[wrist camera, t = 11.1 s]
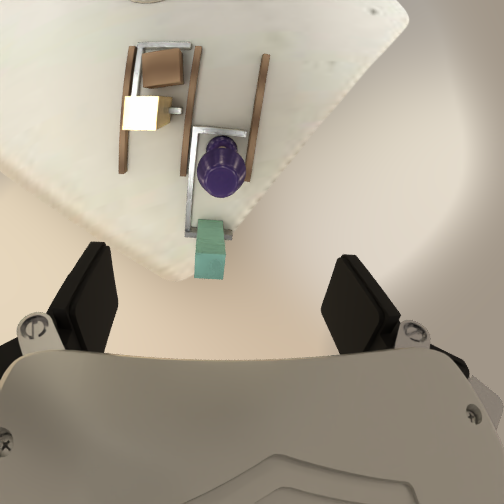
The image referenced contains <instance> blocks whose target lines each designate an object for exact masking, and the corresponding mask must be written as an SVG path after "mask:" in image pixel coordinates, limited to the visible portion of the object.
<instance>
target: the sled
mask: <svg viewBox="0 0 504 504" xmlns="http://www.w3.org/2000/svg"><path fill="white" fill-rule="evenodd" d="M191 46H192V44H191V42H138V43H137V48H138V50H137V56H136V63H135V70H134V77H133V86H132V95H131V96H127V97H125V103H124V115H123V130H157V129H159V128H161V127H163V126H165V125H167V124H169V123H170V114H182V108H173V107H171V105H172V97H161V96H139V87H140V79H141V72H142V54H143V53H144V52H145V50H152V49H174V48H179V49H180V50H191Z"/></svg>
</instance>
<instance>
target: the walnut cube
mask: <svg viewBox="0 0 504 504" xmlns="http://www.w3.org/2000/svg"><path fill="white" fill-rule="evenodd" d="M142 73H143V87H144V88H149V89H152V88H159V87H166V86H173V85H181V84H184V79H183V54H182V52H181V50H180V49H179V48H174V49H167V50H160V51H154V52H149V53H143V54H142Z"/></svg>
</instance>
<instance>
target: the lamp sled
mask: <svg viewBox="0 0 504 504" xmlns="http://www.w3.org/2000/svg"><path fill="white" fill-rule="evenodd" d="M192 132H193V133H192V143H191V153H190V164H189V177H188V190H187V205H186V223H185V237H192V238H197V241H196V253H195V274H194V278H204V279H205V278H206V279H223V274H224V265H225V256H226V253H225V243H224V240H232V230H224V229H223V221H217V220H203V219H198V228H195V227H190V225H191V209H192V194H193V182H194V170H195V159H196V149H197V139H198V133H207V134H219V135H229V136H238V137H246V134H247V131H246V130H239V129H230V128H220V127H208V126H195V125H194V126H193V131H192Z"/></svg>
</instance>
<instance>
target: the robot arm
mask: <svg viewBox="0 0 504 504" xmlns="http://www.w3.org/2000/svg"><path fill="white" fill-rule="evenodd" d="M130 1H133V2H138V3H153V2H159V1H163V0H130ZM117 308H118V297H117V291H116V285H115V280H114V273H113V266H112V259H111V251H110V247H109V246H106V244H105V242H90V244H89V245H88V247H87V248H86V250H85V251H84V253H83V254H82V256H81V257H80V259H79V260H78V262H77V263H76V265H75V267H74V268H73V270H72V271H71V273H70V274H69V275H68V276H67V278H66V280H65V281H64V283H63V285H62V286H61V288H60V290H59V291H58V293H57V295H56V297H55V298H54V300H53V302H52V304H51V305H50V307H49V309H48V311H47V313H42V312H35V313H31V314H29V315H27V316H25V317H24V318H23V319H22V320H21V321H20V323H19V324H18V327H17V338H15V339H13V340H11V341H9V342H7V343H5V344H3V345H1V346H0V504H504V448H503V445H502V443H501V440H500V438H499V436H498V434H497V432H496V429H497V427H498V424H499V421H500V418H501V415H502V412H503V403H502V401H501V399H500V398H499V397H498V395H496V394H495V393H494V392H493V391H492V390H490V389H489V388H488V387H487V386H485V385H484V384H483V383H482V382H480V381H479V380H478V379H477V378H476V377H474V376H473V375H472V376H471V377H469V369H468V367H467V365H466V363H465V362H464V361H463V360H462V359H460V358H458V357H456V356H454V355H452V354H450V353H448V352H446V351H444V350H442V349H440V348H438V347H435V346H434V345H432V344H430V334H429V332H428V330H427V329H426V328H425V327H424V326H423V325H421V324H420V323H418V322H416V321H413V320H405V321H403V322H401V323H400V321H399V318H400V316H401V314H400V313H399V311H398V310H397V309H396V307H395V306H394V305H393V303H392V302H391V301H390V299H389V298H388V297H387V295H386V294H385V292H384V291H383V290H382V288H381V287H380V286H379V284H378V283H377V282H376V280H375V279H374V278H373V276H372V275H371V274H370V272H369V271H368V270H367V269H366V267H365V266H364V265H363V264H362V262H361V261H360V260H359V259H358V257H357V256H356V255H346V254H344V255H342V256H341V258H338V259H337V262H336V264H335V268H334V271H333V274H332V277H331V280H330V283H329V286H328V289H327V292H326V295H325V298H324V300H323V303H322V306H321V313H322V315H323V318H324V320H325V322H326V324H327V326H328V329H329V331H330V333H331V335H332V337H333V340H334V342H335V344H336V347H337V349H338V351H339V353H340V355H331V356H320V357H306V358H291V359H268V360H267V359H266V360H193V359H170V358H154V357H141V356H130V355H119V354H109V353H104V350H105V347H106V343H107V340H108V336H109V333H110V330H111V327H112V324H113V321H114V317H115V314H116V311H117Z"/></svg>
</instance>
